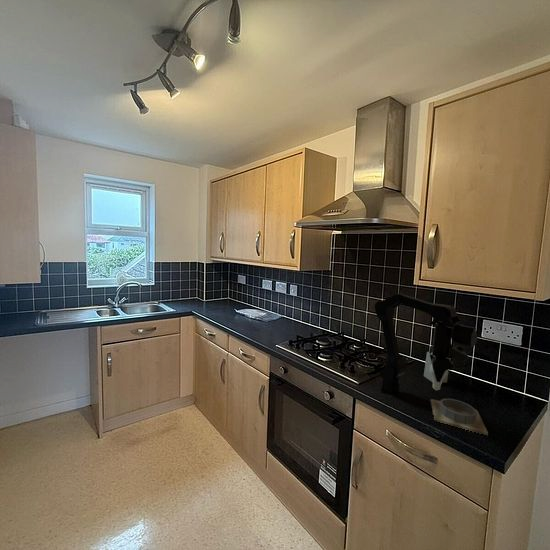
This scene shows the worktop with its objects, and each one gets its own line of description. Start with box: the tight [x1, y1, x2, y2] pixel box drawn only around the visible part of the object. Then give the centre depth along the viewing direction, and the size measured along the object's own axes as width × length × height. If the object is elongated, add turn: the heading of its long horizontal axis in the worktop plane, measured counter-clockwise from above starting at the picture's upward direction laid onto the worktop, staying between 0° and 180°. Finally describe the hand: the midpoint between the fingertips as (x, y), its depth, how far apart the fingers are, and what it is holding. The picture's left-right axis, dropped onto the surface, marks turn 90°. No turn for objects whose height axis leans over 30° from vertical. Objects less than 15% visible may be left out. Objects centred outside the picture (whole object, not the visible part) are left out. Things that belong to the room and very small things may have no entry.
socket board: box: [430, 398, 489, 437], centre depth 111 cm, size 16×16×4 cm
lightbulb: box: [429, 364, 449, 391], centre depth 113 cm, size 6×6×11 cm
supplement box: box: [423, 351, 451, 383], centre depth 144 cm, size 7×7×13 cm
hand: (437, 378), depth 113 cm, fingers closed on lightbulb, 6 cm apart
